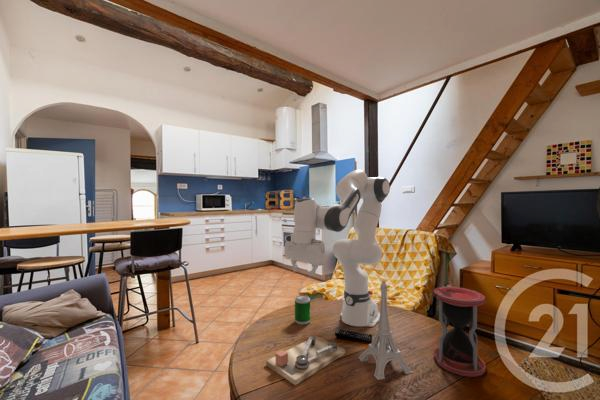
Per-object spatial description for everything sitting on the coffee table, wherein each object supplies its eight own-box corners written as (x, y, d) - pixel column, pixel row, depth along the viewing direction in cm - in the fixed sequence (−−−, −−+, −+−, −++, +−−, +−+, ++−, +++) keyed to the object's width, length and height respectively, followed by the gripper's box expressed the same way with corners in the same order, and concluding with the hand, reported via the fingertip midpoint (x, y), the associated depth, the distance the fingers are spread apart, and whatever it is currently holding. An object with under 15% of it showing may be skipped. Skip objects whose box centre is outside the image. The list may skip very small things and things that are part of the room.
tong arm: (306, 369, 93) (306, 362, 93) (295, 367, 94) (294, 360, 94) (316, 342, 111) (316, 336, 111) (306, 340, 112) (306, 335, 112)
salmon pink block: (282, 359, 98) (282, 349, 98) (287, 363, 96) (287, 353, 96) (275, 363, 96) (275, 353, 96) (281, 366, 94) (281, 356, 94)
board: (315, 339, 116) (315, 335, 116) (345, 353, 106) (345, 349, 106) (266, 365, 98) (266, 360, 98) (295, 385, 87) (295, 379, 87)
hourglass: (460, 348, 109) (459, 284, 109) (497, 373, 93) (497, 298, 93) (424, 353, 106) (423, 287, 106) (456, 380, 90) (455, 302, 90)
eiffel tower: (377, 380, 90) (377, 287, 90) (358, 358, 103) (357, 277, 103) (412, 373, 94) (412, 284, 94) (389, 352, 107) (389, 274, 107)
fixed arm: (300, 371, 92) (300, 364, 92) (292, 365, 96) (292, 358, 96) (340, 352, 103) (340, 346, 103) (331, 347, 107) (331, 341, 107)
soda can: (309, 326, 129) (309, 300, 129) (293, 324, 130) (293, 299, 130) (311, 319, 136) (311, 295, 136) (296, 318, 138) (296, 294, 138)
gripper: (329, 240, 105) (329, 277, 105) (293, 235, 120) (292, 267, 119) (318, 241, 101) (317, 279, 100) (282, 236, 115) (281, 269, 115)
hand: (303, 273), depth 110 cm, fingers open, 8 cm apart
